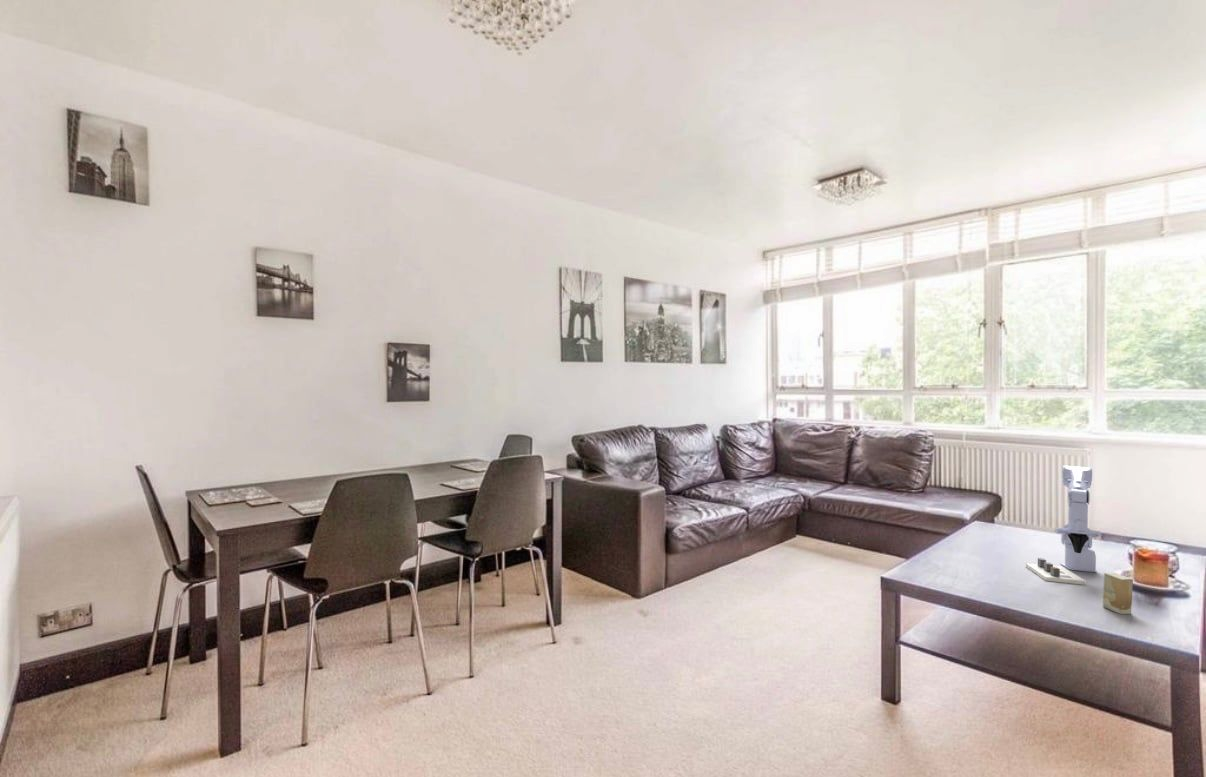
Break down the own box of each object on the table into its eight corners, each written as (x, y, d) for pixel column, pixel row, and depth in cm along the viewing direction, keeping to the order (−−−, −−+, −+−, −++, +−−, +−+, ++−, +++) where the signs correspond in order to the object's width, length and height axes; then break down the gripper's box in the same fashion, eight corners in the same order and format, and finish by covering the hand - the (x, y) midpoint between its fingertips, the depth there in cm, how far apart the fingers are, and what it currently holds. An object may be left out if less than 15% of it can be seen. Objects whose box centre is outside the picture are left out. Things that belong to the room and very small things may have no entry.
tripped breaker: (1056, 574, 216) (1056, 566, 216) (1059, 576, 213) (1059, 568, 213) (1050, 573, 216) (1050, 566, 216) (1053, 575, 214) (1053, 567, 214)
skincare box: (1102, 606, 189) (1102, 572, 188) (1113, 606, 189) (1114, 572, 189) (1121, 614, 182) (1121, 579, 182) (1132, 614, 183) (1133, 578, 182)
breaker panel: (1062, 570, 226) (1062, 559, 226) (1085, 584, 210) (1085, 572, 210) (1025, 566, 230) (1026, 555, 230) (1045, 580, 213) (1045, 568, 213)
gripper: (1061, 519, 215) (1061, 553, 215) (1106, 522, 211) (1105, 557, 211) (1052, 515, 222) (1052, 548, 222) (1095, 518, 217) (1094, 552, 217)
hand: (1077, 552), depth 217 cm, fingers closed
